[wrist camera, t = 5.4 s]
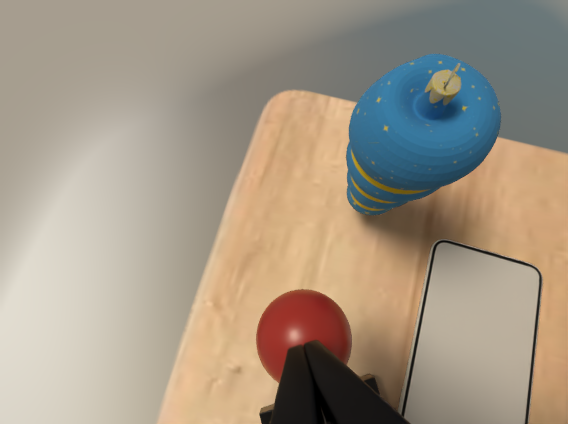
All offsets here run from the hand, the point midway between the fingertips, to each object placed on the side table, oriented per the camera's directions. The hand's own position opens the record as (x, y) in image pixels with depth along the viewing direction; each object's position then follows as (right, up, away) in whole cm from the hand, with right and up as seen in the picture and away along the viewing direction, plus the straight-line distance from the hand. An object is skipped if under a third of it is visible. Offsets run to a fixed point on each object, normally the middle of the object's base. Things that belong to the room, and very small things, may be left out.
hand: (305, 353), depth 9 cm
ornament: (+5, +4, +15) cm, 17 cm away
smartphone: (+11, -6, +13) cm, 18 cm away
